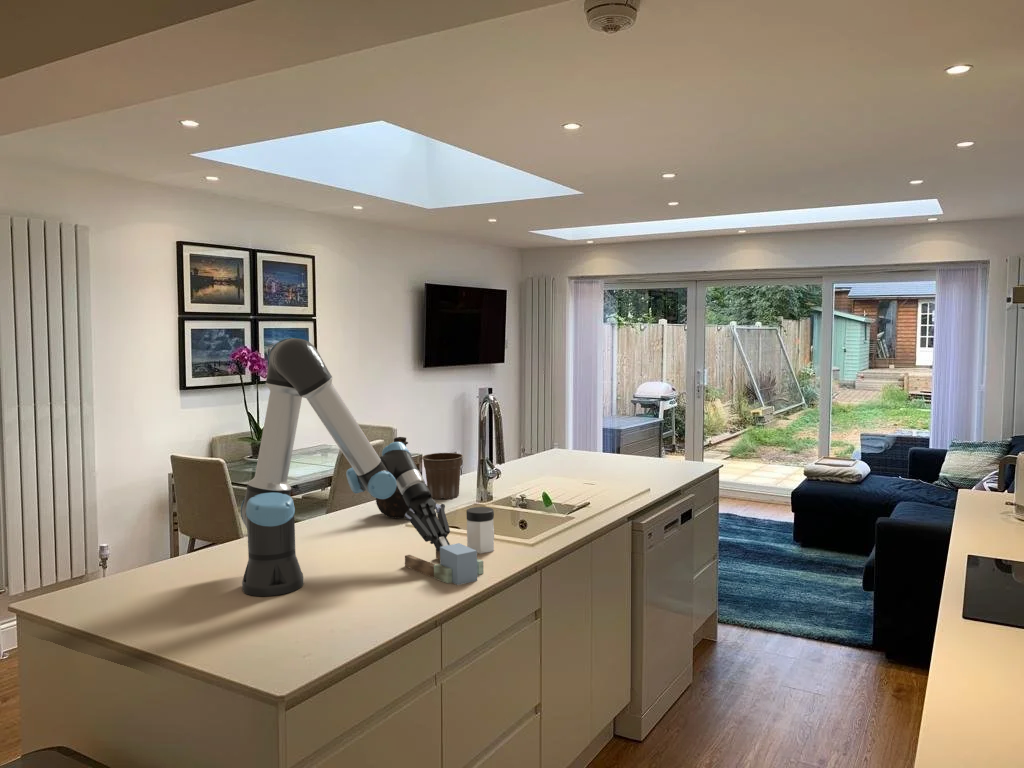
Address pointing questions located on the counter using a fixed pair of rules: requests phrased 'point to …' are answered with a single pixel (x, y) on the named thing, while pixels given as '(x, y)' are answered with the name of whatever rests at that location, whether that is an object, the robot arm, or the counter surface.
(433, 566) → the chute
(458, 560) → the block
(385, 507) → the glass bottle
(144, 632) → the counter surface
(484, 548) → the jar
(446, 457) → the plant pot
